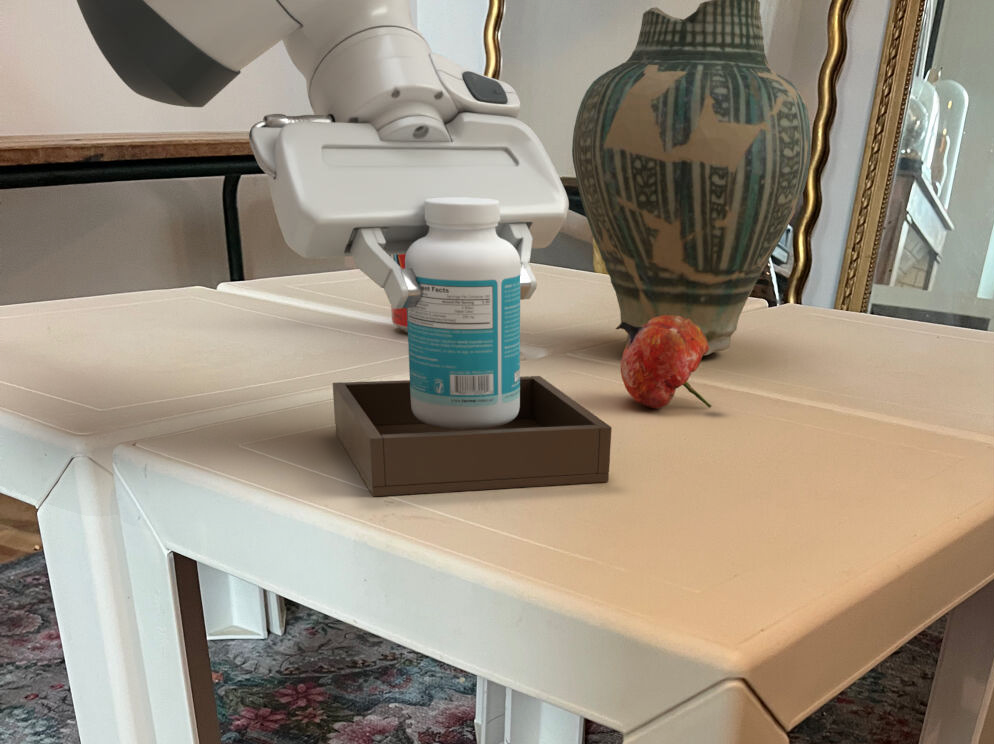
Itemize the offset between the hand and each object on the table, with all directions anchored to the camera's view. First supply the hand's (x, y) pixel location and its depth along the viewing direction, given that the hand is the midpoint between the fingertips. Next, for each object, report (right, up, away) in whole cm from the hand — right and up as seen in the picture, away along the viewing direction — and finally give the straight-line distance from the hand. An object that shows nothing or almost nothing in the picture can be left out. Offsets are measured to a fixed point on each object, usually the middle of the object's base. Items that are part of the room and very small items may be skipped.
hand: (468, 298), depth 72 cm
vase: (+17, +11, +41) cm, 46 cm away
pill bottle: (-1, -7, +4) cm, 8 cm away
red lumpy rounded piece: (+14, -1, +21) cm, 26 cm away
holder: (-1, -9, +6) cm, 10 cm away
